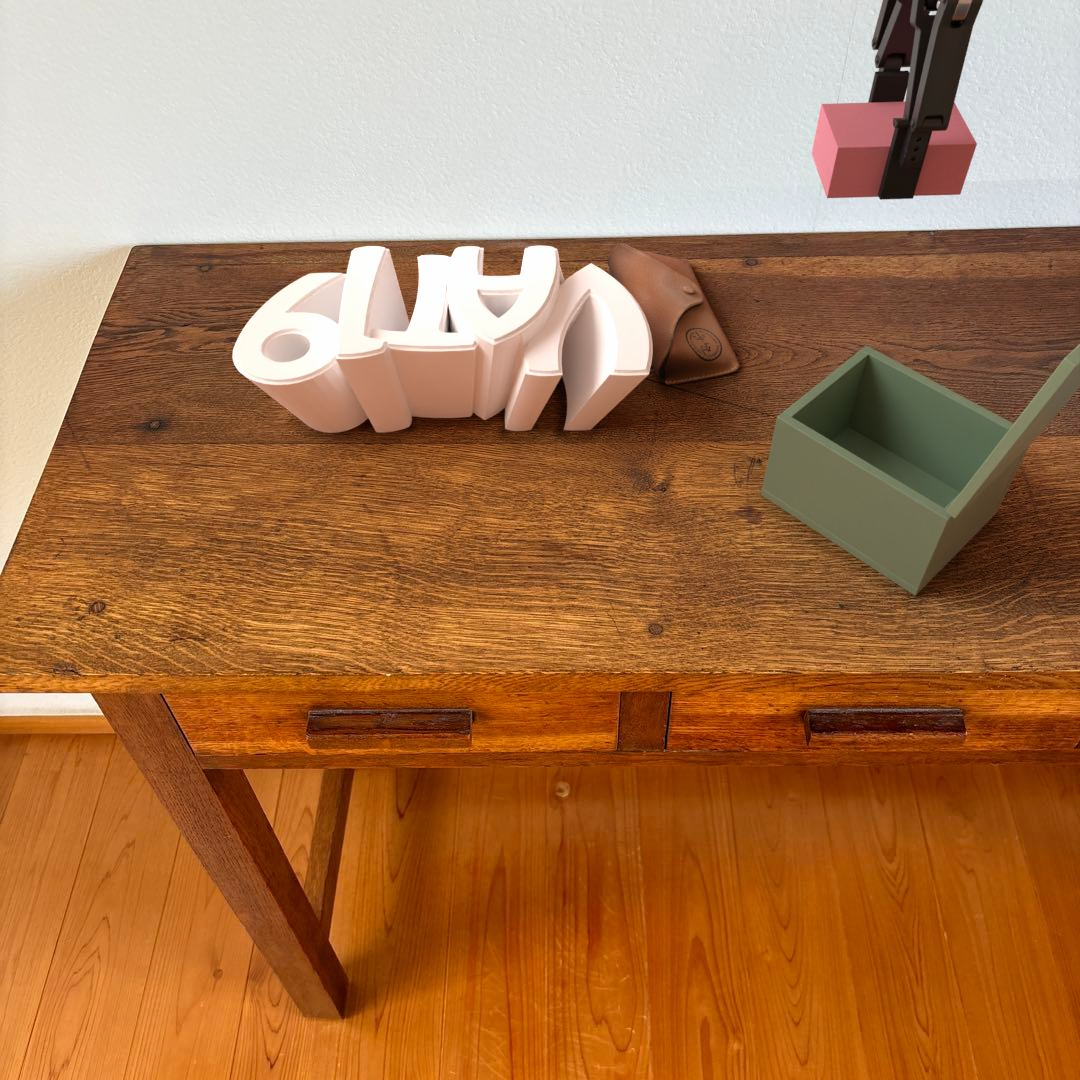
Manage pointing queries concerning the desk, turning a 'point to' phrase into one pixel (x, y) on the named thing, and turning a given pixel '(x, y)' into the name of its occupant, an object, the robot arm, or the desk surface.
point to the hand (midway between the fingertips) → (884, 170)
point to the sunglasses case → (674, 316)
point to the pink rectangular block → (884, 150)
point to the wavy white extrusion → (446, 343)
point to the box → (886, 466)
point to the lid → (1024, 429)
